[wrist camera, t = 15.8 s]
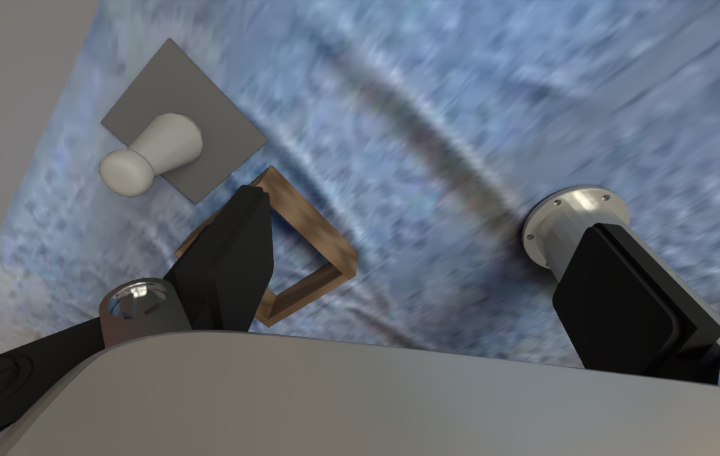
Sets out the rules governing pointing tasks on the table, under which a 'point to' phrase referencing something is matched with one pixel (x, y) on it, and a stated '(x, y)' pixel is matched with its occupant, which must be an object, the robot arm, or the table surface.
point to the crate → (314, 231)
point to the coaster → (189, 98)
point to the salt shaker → (152, 154)
